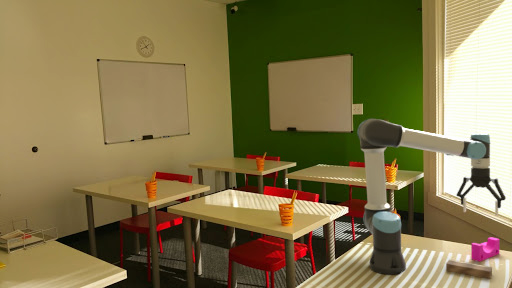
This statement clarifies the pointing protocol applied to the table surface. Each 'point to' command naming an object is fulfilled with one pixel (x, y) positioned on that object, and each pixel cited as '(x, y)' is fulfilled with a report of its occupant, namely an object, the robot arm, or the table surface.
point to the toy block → (485, 249)
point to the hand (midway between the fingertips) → (480, 213)
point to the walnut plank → (469, 269)
